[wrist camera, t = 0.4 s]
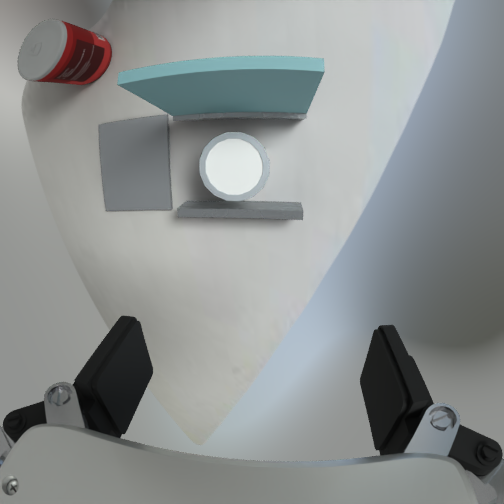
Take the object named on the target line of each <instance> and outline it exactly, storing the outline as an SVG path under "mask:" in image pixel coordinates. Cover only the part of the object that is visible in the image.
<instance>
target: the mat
mask: <svg viewBox="0 0 504 504" xmlns="http://www.w3.org/2000/svg"><path fill="white" fill-rule="evenodd" d="M99 144H100V160H101V172H102V182H103V191H104V200H105V208H106V211H118V210H171V209H173V207H172V194H171V178H170V158H169V130H168V115H158V116H150V117H142V118H135V119H129V120H122V121H116V122H111V123H105V124H100V125H99Z"/></svg>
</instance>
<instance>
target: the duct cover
mask: <svg viewBox="0 0 504 504" xmlns="http://www.w3.org/2000/svg"><path fill="white" fill-rule="evenodd" d="M323 74H324V59H323V58H310V57H293V56H236V57H219V58H206V59H196V60H187V61H179V62H172V63H166V64H159V65H153V66H148V67H143V68H138V69H133V70H128V71H124V72H119V75H118V84H117V85H119V86H121V87H122V88H124V89H126V90H128V91H130V92H132V93H133V94H135V95H137V96H139V97H141V98H142V99H144V100H146V101H148V102H149V103H151V104H153V105H155V106H156V107H158V108H160V109H162V110H163V111H165V112H167V113H168V114H170V115H172V116H177V115H189V114H204V113H224V112H289V113H307V111H308V109H309V107H310V104H311V102H312V100H313V97H314V95H315V93H316V90H317V88H318V86H319V83H320V81H321V79H322V76H323Z"/></svg>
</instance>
